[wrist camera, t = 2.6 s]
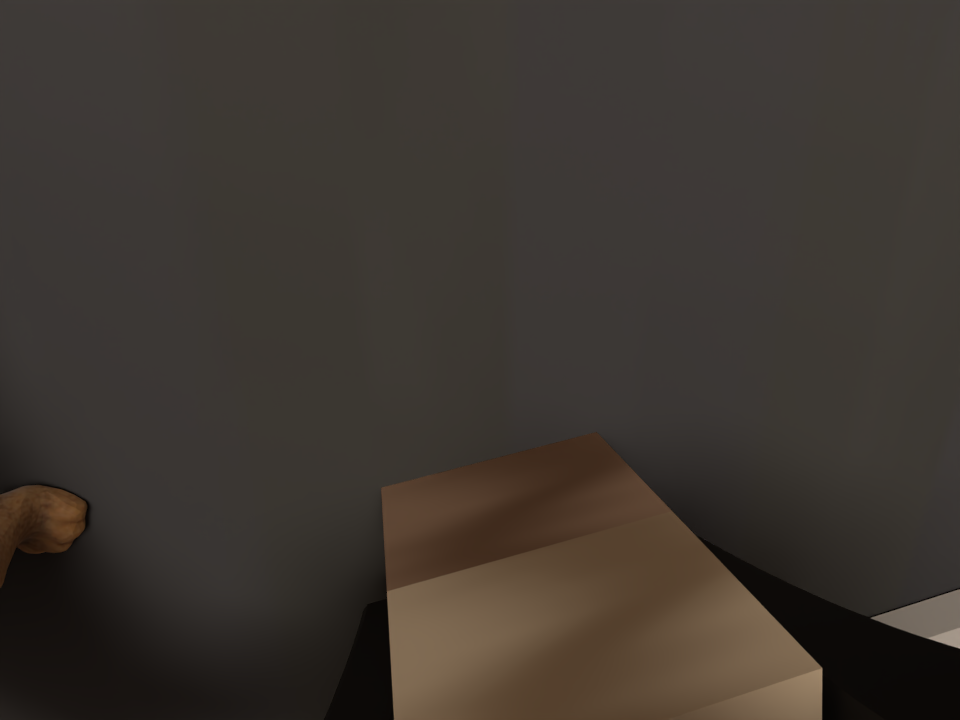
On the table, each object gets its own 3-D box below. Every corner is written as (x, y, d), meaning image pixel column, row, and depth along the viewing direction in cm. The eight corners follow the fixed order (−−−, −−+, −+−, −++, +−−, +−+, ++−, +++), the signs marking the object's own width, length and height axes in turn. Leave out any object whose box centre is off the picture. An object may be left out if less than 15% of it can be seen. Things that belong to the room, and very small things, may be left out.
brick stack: (595, 431, 12) (822, 667, 6) (618, 605, 14) (820, 936, 8) (381, 487, 12) (398, 807, 6) (428, 663, 13) (483, 1070, 7)
